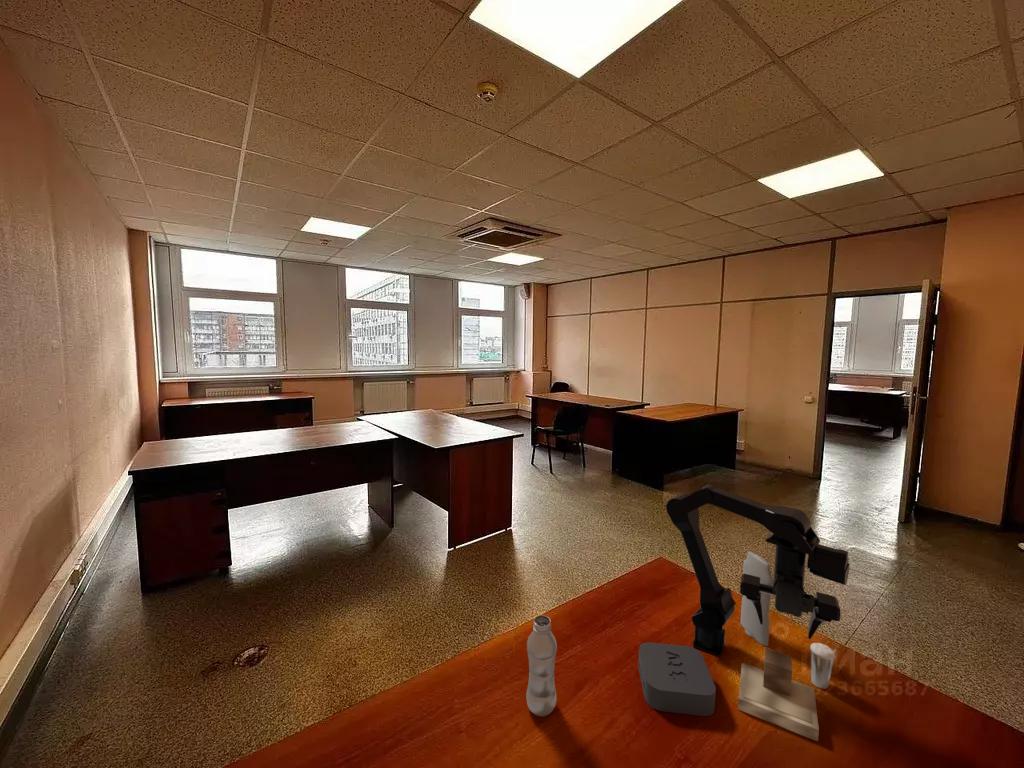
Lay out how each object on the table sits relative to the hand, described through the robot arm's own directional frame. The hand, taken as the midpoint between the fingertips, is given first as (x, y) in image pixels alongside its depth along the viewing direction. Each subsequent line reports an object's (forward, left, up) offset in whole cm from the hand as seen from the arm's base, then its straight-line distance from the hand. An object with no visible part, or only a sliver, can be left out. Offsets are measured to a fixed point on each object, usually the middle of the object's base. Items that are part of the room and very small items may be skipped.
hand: (784, 630), depth 97 cm
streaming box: (-21, -15, -13) cm, 29 cm away
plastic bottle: (-44, -36, -13) cm, 58 cm away
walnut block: (-1, -5, -10) cm, 11 cm away
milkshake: (+8, +4, -13) cm, 16 cm away
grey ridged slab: (-6, +15, -13) cm, 21 cm away
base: (-1, -8, -12) cm, 15 cm away
